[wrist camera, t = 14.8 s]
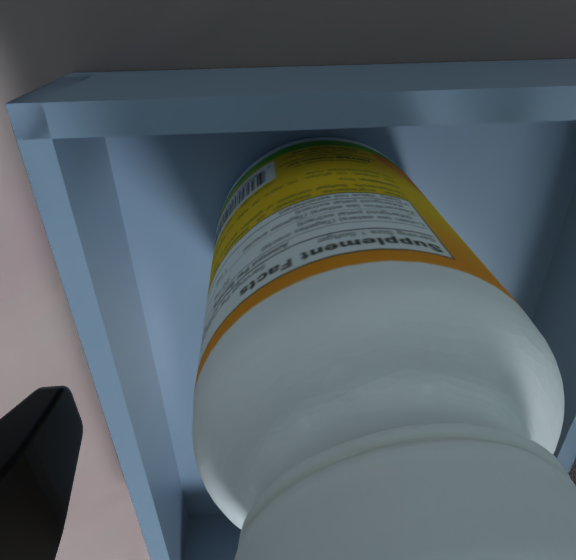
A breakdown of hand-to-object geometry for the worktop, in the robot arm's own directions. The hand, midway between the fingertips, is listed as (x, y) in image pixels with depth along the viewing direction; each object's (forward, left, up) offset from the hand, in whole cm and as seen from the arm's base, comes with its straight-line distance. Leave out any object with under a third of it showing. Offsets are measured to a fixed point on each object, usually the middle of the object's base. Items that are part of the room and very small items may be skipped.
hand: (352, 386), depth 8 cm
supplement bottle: (0, 0, -6) cm, 6 cm away
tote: (-5, -1, -6) cm, 8 cm away
